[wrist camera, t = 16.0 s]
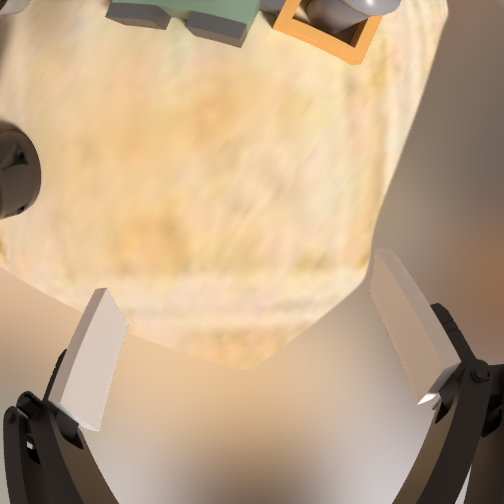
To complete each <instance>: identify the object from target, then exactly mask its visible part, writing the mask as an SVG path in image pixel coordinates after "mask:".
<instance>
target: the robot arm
mask: <svg viewBox="0 0 504 504" xmlns="http://www.w3.org/2000/svg"><path fill="white" fill-rule="evenodd" d="M40 185H41V169H40V163H39V159H38V156H37V153H36V150H35V148H34V146H33V144H32V143H31V141H30V140H29V139H28V138H27V136H25V135H24V134H23V133H21V132H20V131H17V130H8V131H5V132H3V133H0V220H1V219H4V218H8V217H11V216H15V215H18V214H21V213H22V212H24V211H25V210H27V209H28V208H29V207H30V206H32V205H33V203H34V202H35V201H36V199H37V197H38V194H39V191H40ZM369 293H370V295H371V297H372V299H373V301H374V303H375V305H376V307H377V309H378V311H379V314H380V316H381V318H382V320H383V322H384V324H385V327H386V329H387V331H388V333H389V335H390V337H391V340H392V342H393V345H394V347H395V349H396V352H397V354H398V356H399V358H400V361H401V363H402V366H403V368H404V371H405V373H406V376H407V378H408V381H409V383H410V386H411V389H412V391H413V394H414V397H415V399H416V402H417V405H418V404H421V403H423V402H426V401H428V400H430V399H433V398H434V397H435V396H436V394H437V393H438V392H439V394H440V396H441V398H440V399H439V400H438V402H437V403H436V404H435V405H434V407H433V408H432V409H433V410H435V408H436V407H437V409H436V412H435V414H434V418H433V420H432V423H431V426H430V428H429V431H428V433H427V435H426V438H425V440H424V443H423V445H422V448H421V450H420V452H419V454H418V456H417V459H416V461H415V463H414V465H413V467H412V469H411V471H410V473H409V475H408V477H407V478H406V480H405V482H404V484H403V486H402V488H401V490H400V491H399V493H398V495H397V496H396V498H395V500H394V502H393V503H392V504H455V502H456V500H457V498H458V496H459V493H460V491H461V489H462V486H463V484H464V482H465V479H466V477H467V474H468V472H469V469H470V466H471V472H470V477H469V482H468V487H467V491H466V496H465V500H464V504H504V364H500V365H488V364H487V363H486V362H484V361H483V360H478V359H476V357H475V356H474V354H473V353H472V351H471V349H470V347H469V345H468V343H467V342H466V340H465V338H464V336H463V335H462V333H461V331H460V330H459V329H458V326H457V325H456V323H455V322H454V321H453V318H452V317H451V315H450V313H449V312H448V310H447V309H445V308H444V307H443V306H442V305H441V304H439V303H436V304H433V305H429V304H428V302H427V300H426V299H425V297H424V296H423V294H422V293H421V291H420V289H419V288H418V286H417V285H416V283H415V282H414V280H413V279H412V277H411V276H410V274H409V273H408V272H407V270H406V269H405V267H404V266H403V264H402V263H401V261H400V260H399V259H398V257H397V256H396V254H395V253H394V252H393V250H392V249H391V248H390V247H384V248H378V249H376V250H375V258H374V266H373V273H372V279H371V286H370V292H369ZM128 326H129V323H128V322H127V320H126V319H125V317H124V315H123V314H122V312H121V311H120V309H119V307H118V306H117V304H116V302H115V301H114V299H113V297H112V296H111V294H110V292H109V290H108V289H107V288H101V289H96V290H95V292H94V293H93V295H92V297H91V299H90V301H89V303H88V305H87V307H86V309H85V311H84V313H83V316H82V318H81V320H80V322H79V324H78V326H77V328H76V330H75V333H74V335H73V337H72V339H71V342H70V344H69V346H68V349H65V350H64V351H63V352H62V354H61V355H60V356H59V358H58V361H57V363H56V365H55V366H56V368H54V370H53V375H52V376H51V378H50V381H49V384H48V386H47V389H46V392H45V395H44V398H43V400H42V401H41V400H40V399H39V398H37V397H36V396H35V395H34V394H33V393H31V392H30V391H26V392H24V393H22V394H21V395H20V397H19V398H18V400H17V404H16V407H14V406H11V407H9V408H8V409H7V410H6V412H5V414H4V419H3V420H4V422H3V437H4V438H3V440H4V459H5V471H6V479H7V487H8V493H9V498H10V504H119V503H118V501H117V500H116V498H115V497H114V495H113V493H112V492H111V490H110V488H109V486H108V485H107V483H106V481H105V479H104V478H103V476H102V474H101V472H100V470H99V469H98V466H97V464H96V462H95V461H94V458H93V456H92V454H91V452H90V450H89V448H88V445H87V443H86V441H85V439H84V436H83V434H82V432H81V430H80V429H79V428H78V426H79V424H80V425H82V426H83V427H85V428H86V429H90V430H94V431H99V430H100V425H101V421H102V417H103V412H104V408H105V404H106V400H107V396H108V392H109V389H110V385H111V381H112V377H113V374H114V370H115V367H116V364H117V360H118V357H119V354H120V351H121V347H122V344H123V341H124V338H125V334H126V332H127V329H128ZM27 442H29V443H30V444H32V445H33V447H32V449H30V448H28V447H27ZM471 464H472V465H471Z"/></svg>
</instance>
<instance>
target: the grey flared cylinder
mask: <svg viewBox="0 0 504 504" xmlns="http://www.w3.org/2000/svg"><path fill="white" fill-rule="evenodd" d="M400 2H401V0H312V1H311V2H310V3H309V5H308V7H307V15H308V18H309V20H310V21H311V23H312V24H313V25H314V26H316V27H317V28H318V29H320V30H322V31H325V32H330V33H336V32H340V31H342V30H344V29H346V28H348V27H350V26H352V25H354V24H356V23H358V22H360V21H362V20H365V19H367V18H369V17H371V16H383V15H386V14H388V13H391V12H393V11H395V10H396V9H397V8H398V6H399V5H400Z"/></svg>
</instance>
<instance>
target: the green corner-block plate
mask: <svg viewBox="0 0 504 504" xmlns="http://www.w3.org/2000/svg"><path fill="white" fill-rule="evenodd" d="M300 2H301V0H112V2H111V4H110V7H109V9H108V11H107V13H106V16H105V17H106V18H109V19H111V20H114V21H117V22H119V23H121V24H124V25H130V26H140V27H148V28H155V29H162V30H166V28H167V26H168V23H169V21H170V19H171V17H174V18H180V19H185V20H187V22H186V24H185V27H186V28H187V29H188V30H189V31H191V32H192V33H193V34H194V35H195V36H198V37H202V38H207V39H211V40H214V41H218V42H222V43H225V44H229V45H232V46H236V47H239V48H241V47H242V45H243V42H244V40H245V38H246V36H247V34H248V32H249V30H250V27H251V25H252V23H253V21H254V19H255V17H256V15H257V13H258V11H259V10H260V11H263V12H266V13H269V14H272V15H275V16H278V18H277V20H276V22H275V24H274V26H273V29H274V30H277V31H280V32H282V33H285V34H288V35H290V36H293V37H295V38H297V39H300V40H302V41H305V42H307V43H309V44H311V45H313V46H316V47H318V48H320V49H322V50H324V51H326V52H328V53H330V54H332V55H334V56H336V57H338V58H340V59H342V60H344V61H346V62H348V63H349V64H351V65H357V64H361V63H362V61H363V59H364V57H365V55H366V52H367V50H368V48H369V46H370V43H371V41H372V39H373V37H374V34H375V32H376V30H377V28H378V25H379V23H380V21H381V19H382V16H371V17H369V18H367V19H365V20H362V21H360V22H359V25H358V27H357V29H356V31H355V33H354V35H353V38H352V40H351V42H350V44H349V45H348V44H346V43H344V42H342V41H341V40H339V39H337V38H335V37H333V36H331V35H329V34H327V33H324V32H322V31H320V30H318V29H316V28H314V27H311V26H309V25H307V24H305V23H302V22H300V21H297V20H295V19H292V18H293V16H294V13H295V11H296V9H297V7H298V5H299V4H300Z"/></svg>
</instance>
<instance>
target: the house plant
mask: <svg viewBox="0 0 504 504" xmlns="http://www.w3.org/2000/svg"><path fill="white" fill-rule="evenodd" d="M30 1H31V0H0V16H2V15H8V14H16V13H19V12H21V11H23V10H24V9H25V8H26V7H27V5H28V4H29V2H30Z"/></svg>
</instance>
